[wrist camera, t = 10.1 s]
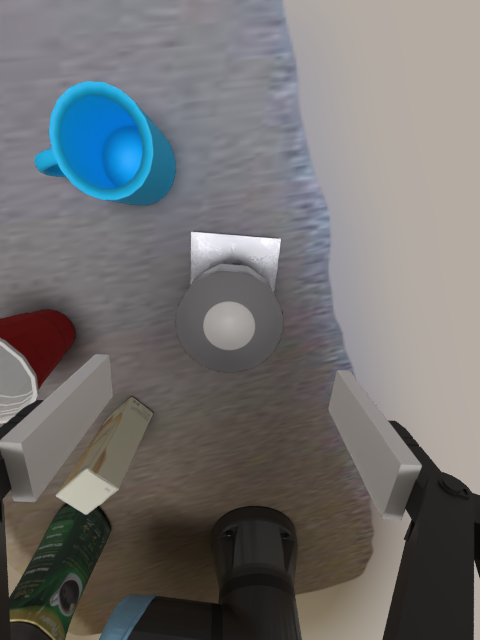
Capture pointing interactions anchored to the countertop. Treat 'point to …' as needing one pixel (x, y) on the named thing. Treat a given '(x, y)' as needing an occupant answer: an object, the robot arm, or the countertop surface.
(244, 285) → the cap
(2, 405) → the plastic cup
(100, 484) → the skincare box
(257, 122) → the countertop surface
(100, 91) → the mug
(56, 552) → the coffee jar
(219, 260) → the gray flat-based fixture
